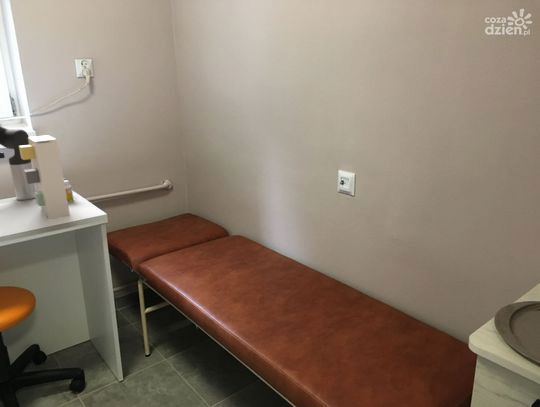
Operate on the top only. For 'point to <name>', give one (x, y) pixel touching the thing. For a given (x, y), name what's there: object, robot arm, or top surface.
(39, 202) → the sage key
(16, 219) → the top surface
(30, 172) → the charcoal key
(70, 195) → the supplement bottle
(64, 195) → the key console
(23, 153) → the tan square block
